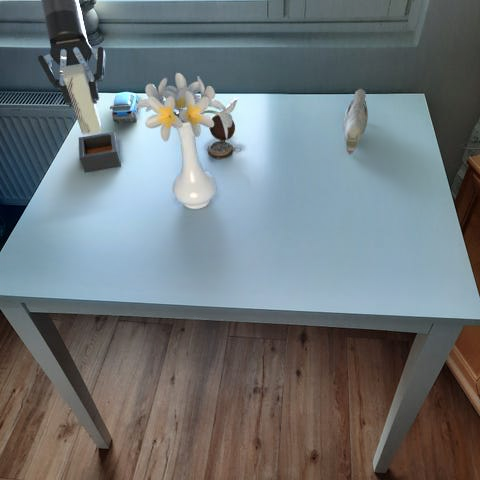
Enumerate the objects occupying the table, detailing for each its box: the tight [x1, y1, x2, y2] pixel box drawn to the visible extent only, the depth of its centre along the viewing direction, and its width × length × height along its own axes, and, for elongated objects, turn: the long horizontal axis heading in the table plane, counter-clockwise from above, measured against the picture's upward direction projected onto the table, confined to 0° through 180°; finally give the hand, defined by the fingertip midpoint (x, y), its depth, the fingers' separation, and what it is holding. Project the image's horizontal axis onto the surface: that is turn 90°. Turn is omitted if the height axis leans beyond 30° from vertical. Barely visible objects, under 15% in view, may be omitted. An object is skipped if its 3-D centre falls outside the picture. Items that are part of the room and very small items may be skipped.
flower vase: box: [136, 72, 238, 210], centre depth 92 cm, size 13×18×25 cm
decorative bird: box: [342, 88, 369, 155], centre depth 110 cm, size 5×16×7 cm, turn 166°
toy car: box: [109, 91, 140, 124], centre depth 121 cm, size 6×12×6 cm, turn 2°
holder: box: [78, 131, 122, 174], centre depth 110 cm, size 8×8×4 cm
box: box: [63, 64, 102, 135], centre depth 101 cm, size 5×4×13 cm
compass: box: [206, 114, 242, 160], centre depth 109 cm, size 8×8×7 cm
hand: (83, 104), depth 99 cm, fingers closed on box, 4 cm apart
